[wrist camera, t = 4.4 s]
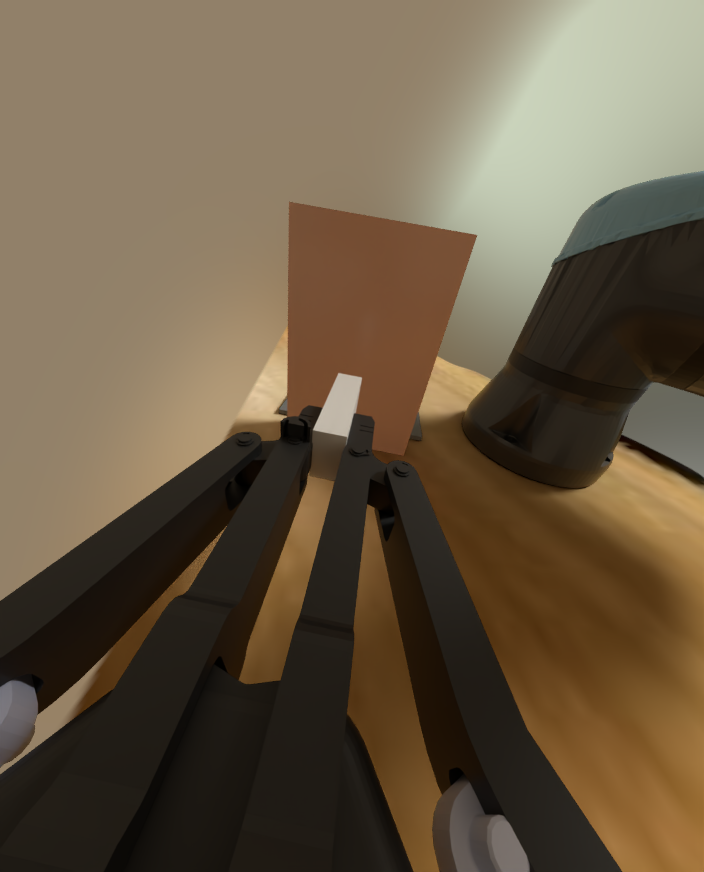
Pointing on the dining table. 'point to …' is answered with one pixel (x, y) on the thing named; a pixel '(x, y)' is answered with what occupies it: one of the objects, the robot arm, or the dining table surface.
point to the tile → (369, 311)
